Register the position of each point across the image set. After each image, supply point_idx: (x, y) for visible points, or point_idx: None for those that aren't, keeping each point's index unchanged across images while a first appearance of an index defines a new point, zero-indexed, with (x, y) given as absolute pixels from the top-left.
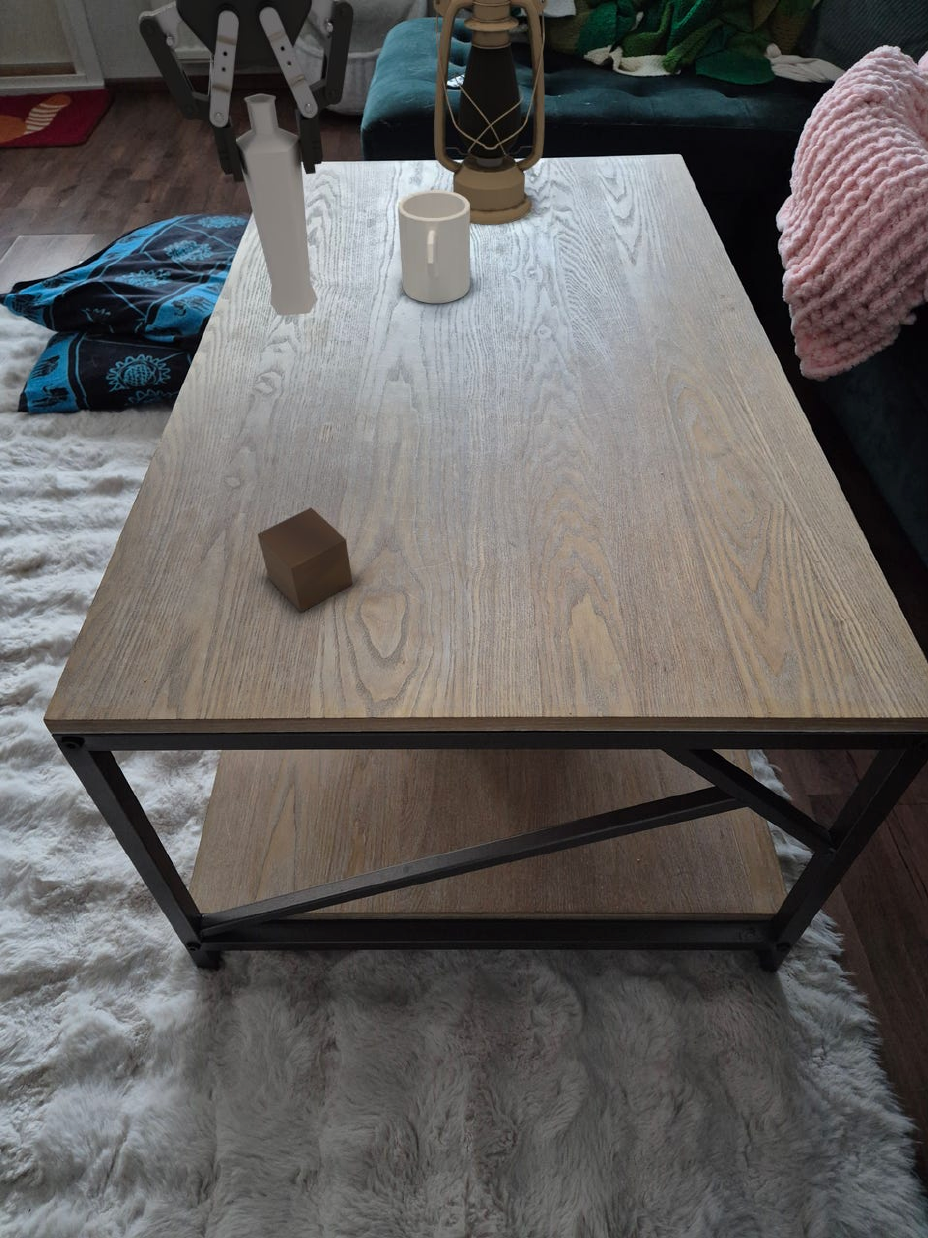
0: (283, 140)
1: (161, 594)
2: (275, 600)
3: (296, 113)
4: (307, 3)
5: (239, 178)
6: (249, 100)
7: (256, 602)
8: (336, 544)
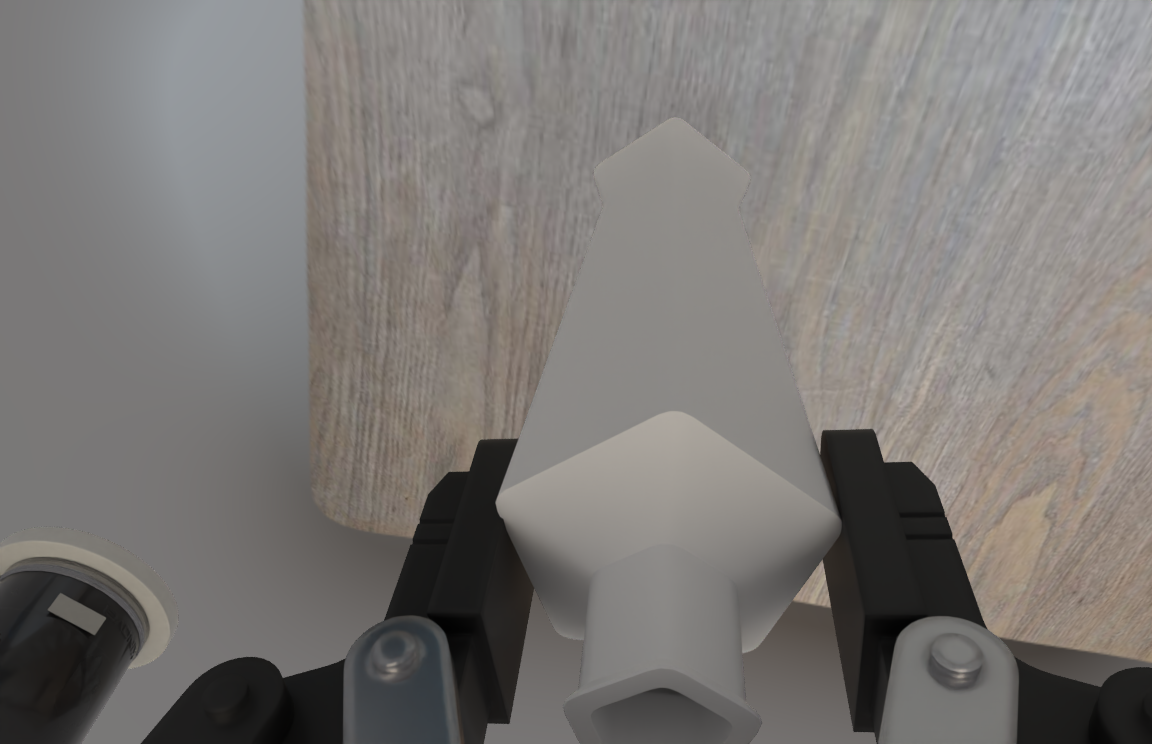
0: (747, 626)
1: (394, 368)
2: None
3: (860, 664)
4: None
5: None
6: (597, 741)
7: None
8: None
